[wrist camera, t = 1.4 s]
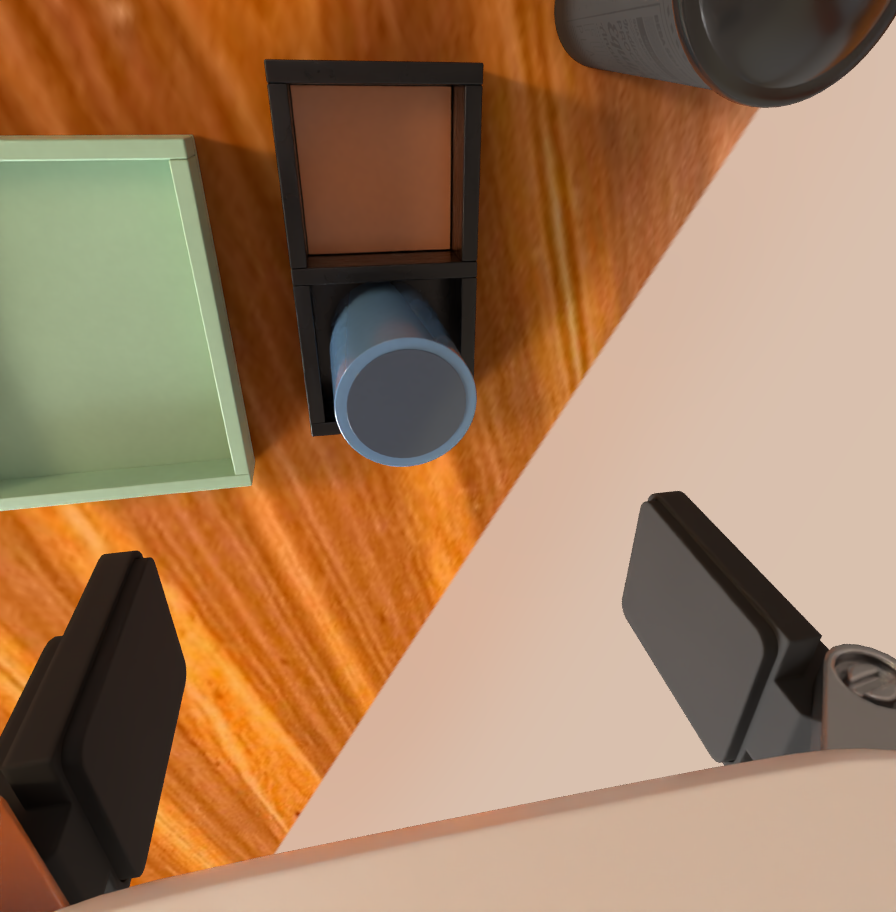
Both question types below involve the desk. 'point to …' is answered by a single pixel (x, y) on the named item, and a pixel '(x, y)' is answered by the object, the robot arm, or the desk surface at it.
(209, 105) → the desk surface
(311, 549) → the desk surface
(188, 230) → the tray
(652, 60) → the drinking cup
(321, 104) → the black divided tray
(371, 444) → the blue cup
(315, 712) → the desk surface
